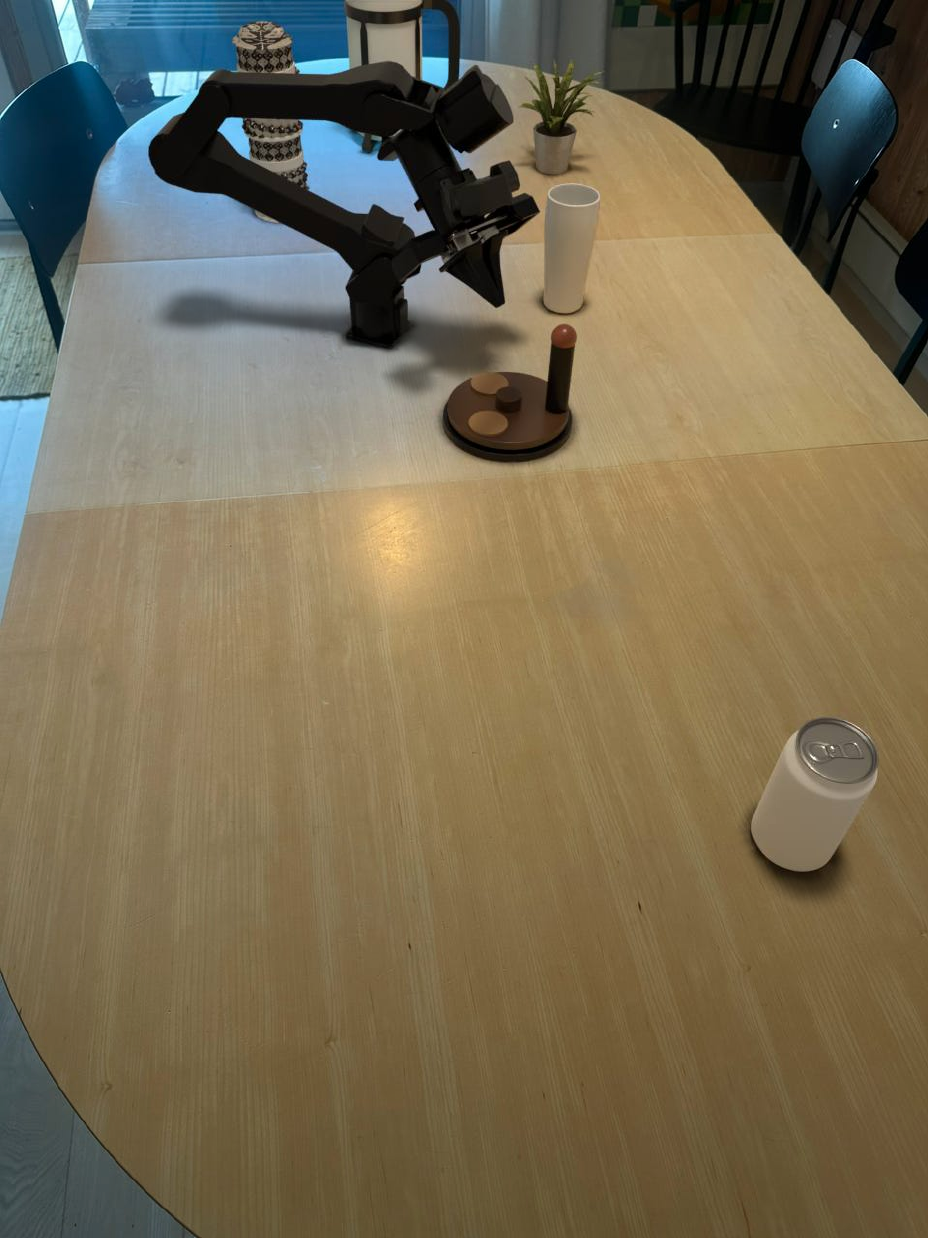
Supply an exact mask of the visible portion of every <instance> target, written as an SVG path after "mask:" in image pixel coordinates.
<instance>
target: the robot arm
mask: <svg viewBox="0 0 928 1238" xmlns="http://www.w3.org/2000/svg"><path fill="white" fill-rule="evenodd" d="M417 105H418V106H417ZM513 113H514V112H513V110H512V107H511V105H510V103H509V100H508V99H507V97H506V94H505V93H504V91H503V90H502V88H501V86H500V84H496V83H495V82H494V80H493V79H492V78H491V77H490V76H489V75H488V74H485V73H483V71H482V70H481V68H480V66H479V65H477V64H474V65H473V66H471V67H470V68H469V69H467V70H466V71H465V72H464V73H463V75H462V77H459V80H458V81H457V82H455V83H454V84H453V85H451V86H450V87H449V88H448V89H446V90H444V87H442V86H440V85H438V84H437V85H436V84H434V83H432V82H428V81H426V80H424V79H422V80H421V79H418V78H415V77H413V76H411V75H410V74H409V73H408V72H407V71H406V69H405V68H404V67H403V66H402V65H401V64H399V63H397V62H392V61H384V62H378V63H373V64H367V65H361V66H358V67H355V68H352V69H350V68H349V69H346V70H342V71H340V72H335V73H329V74H328V73H300V74H295V73H256V72H238V71H231V70H229V69H225V68H221V69H216V70H214V71H213V72H212V73H211V74H210V75H209V76H208V77H207V78H206V79H205V80H204V81H203V83H202V84H201V85H200V86H199V88H198V93H197V94H196V96H195V97H194V99H193V100H192V101H191V103H190V104H189V106H188V107H187V108H186V109H185V111H183V112H182V113H178V114H176V115H173V116H172V117H171V119H169V120H168V121H167V122H166V123H165V125H164V126H163V127H162V128H161V129H159V131H158V133H156V135H155V136H154V137H153V138H152V139H151V140H150V142H149V145H148V147H147V149H148V150H147V152H148V153H147V156H148V161H149V162H150V165H151V167H152V169H153V171H154V174H155V175H156V177H158V178H159V179H160V180H161V181H163V182H165V184H168V185H170V186H174V187H177V188H180V189H183V190H186V191H190V192H192V193H196V194H198V193H199V194H210V195H212V194H213V195H222V196H226V197H227V198H230V199H232V200H234V201H236V202H238V203H239V204H242V205H244V206H246V207H248V208H249V209H252V210H254V211H255V210H256V211H258V212H260V213H262V214H264V215H266V216H268V217H270V218H272V219H274V220H276V221H278V222H280V223H279V224H282V225H283V226H286V227H287V228H290V229H291V230H294V231H296V232H298V233H300V234H301V235H303V236H305V237H307V238H309V239H312V240H314V241H315V242H317V243H320V244H321V245H324V246H325V247H327V248H330V249H331V250H333V251H335V253H337V254H338V255H339V256H340V258H341V259H342V260H343V261H344V262H345V263H346V265H347V266H348V267H349V268H350V270H351V273H350V275H349V277H348V280H347V282H346V285H345V288H344V290H345V291H346V294H347V296H348V299H349V300H348V301H349V316H350V328H349V329H348V330H347V332H346V333H345V338H346V339H347V340H348V339H349V340H352V341H356V342H362V343H366V344H368V345H369V344H370V345H374V346H378V347H382V348H387V349H391V348H393V347H394V346H395V344H397V342H398V341H399V340H400V339H401V337H403V335H404V334H405V333H406V332H407V330H408V329H409V327H410V326H411V321H410V320H409V301H408V299H407V298H405V286H404V284H405V283H406V282H407V281H408V280H409V279H411V278H413V277H415V276H418V275H419V274H420V273H421V269H422V265H423V264H424V263H426V262H429V261H431V260H433V259H435V258H439V257H440V259H441V261H442V263H443V264H442V265H441V266H439V267H438V271H439V273H441V274H442V273H447V274H449V275H451V277H453V278H455V279H456V280H458V281H460V282H461V283H463V284H464V285H466V286H467V287H468V288H469V289H471V290H472V291H474V293H476V294H477V295H478V296H480V297H481V298H482V299H484V300H485V301H486V302H487V303H489V304H490V305H491V306H492V307H494V308H495V309H498V308H500V307H503V306H504V305H505V304H506V297H505V291H504V282H503V276H502V267H501V248H502V245H503V244H502V243H503V241H504V239H505V238H506V237H509V236H511V235H513V234H514V233H515V234H516V232H518V231H519V230H520V229H521V228H524V226H525V225H527V224H528V222H530V221H531V220H533V219H534V218H535V217H536V216H538V215H539V214H540V213H541V210H540V208H539V206H538V203H537V202H536V200H535V198H534V196H533V195H531V194H529V193H526V192H523V193H521V194H518V195H515V196H513V193H516V192H517V191H519V190H520V188H521V182H520V177H519V174H518V172H517V170H516V169H515V167H514V165H513V163H512V162H511V160H510V159H509V160H504V161H501V162H498V163H495V164H493V165H490V167H489V175H487V176H484V177H481V178H477V177H476V175H475V173H474V171H473V170H472V169H470V167H467V168H465V169H462V167H461V166H460V163H459V162H458V159H457V157H456V155H455V153H454V151H457V152H458V153H459V154H463V153H464V152H465V153H466V154H472V153H473V152H475V151H476V150H477V149H480V148H481V147H482V146H483V145H485V144H486V143H488V142H489V141H490V140H492V139H493V138H495V137H496V136H497V135H499V134H500V133H501V132H503V131H504V130H506V129H507V128H508V127H510V126H511V125H513V123H514V120H515V119H514V114H513ZM230 118H231V119H232V118H233V119H242V118H260V119H292V120H299V121H326V122H331V123H335V124H338V125H340V126H342V127H344V128H346V129H347V130H350V131H352V132H353V131H355V132H354V133H358V132H360V133H365V134H369V135H374V136H378V137H382V141H380V146H379V148H378V150H377V151H378V152H377V155H376V159H377V160H378V161H380V162H394V161H396V160H398V161H399V163H400V166H401V167H402V169H403V172H404V173H405V175H406V177H407V179H408V181H409V182H410V185H411V186H412V187H411V188H413V190H414V193H415V195H416V197H417V199H416V200H415V201H414V203H413V206H414V209H415V210H416V213H420V212H422V211H424V212H425V214H426V216H427V218H428V220H429V222H430V225H431V227H432V230H429V231H426V232H424V233H421V234H419V235H416V234H415V231H414V230H413V229H412V227H410V226H409V225H407V224H406V223H405V222H404V220H405V217H404V216H399V215H394V214H392V213H390V212H388V211H387V210H386V209H384V208H383V207H382V206H380V205H378V204H376V203H372V205H371V207H370V209H369V210H368V213H358V212H353V211H350V210H348V209H345V208H344V207H342V206H339V205H338V204H337V203H334V202H332V201H330V200H329V199H326V198H324V197H323V196H320V195H318V194H317V193H314V192H313V191H311V190H310V189H308V190H307V189H305V188H303V187H301V186H299V185H297V184H295V183H293V182H291V181H289V180H287V179H285V178H283V177H282V176H280V175H278V174H276V173H274V172H272V171H270V170H268V169H266V168H264V167H262V166H260V165H258V164H256V163H254V162H252V161H250V158H247V157H245V156H243V155H242V154H240V153H239V152H238V151H237V150H236V148H235V147H234V146H233V145H232V144H231V142H230V141H229V140H228V139H227V138H226V136H225V135H224V134H223V133H222V132H220V131H219V130H220V128H221V126H222V125H223V124H224V122H225V121H226V120H227V119H230ZM399 130H401V131H400V132H398V131H399ZM397 132H398V133H397ZM396 133H397V134H396ZM394 134H396V135H395V136H393V135H394ZM453 150H454V151H453Z"/></svg>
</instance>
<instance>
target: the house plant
mask: <svg viewBox="0 0 928 1238" xmlns="http://www.w3.org/2000/svg"><path fill="white" fill-rule="evenodd" d="M552 59H553V69H554V77H552V79H553V82H554V104H553V103H552V99H551V94H550V89H549V85H548V82H547V78H546V76H545V74H544V73H543V72H542V70H541V69H540V68H539V65H537V64H536V63H535V62H533V61H531V64H532V67H533V69H534V71H535V74H536V78H537V81H538V85H539V87H537V86H536V84H535V83H534V82H533V81H532V80H531V79H530V78H529V77H527V76H525V75H524V76H523V77H524V78H525V79H526V81H527V82H529V84H530V85H531V87H532V89H533V90H534V91H535V92H536V94H537V95H538V98H539V99H532V100H531V103H532V104H531V103H529V102H525V103H522V104H521V105H519V106H518V107H517V108H518V109H519V108H524V109H529V110H533V111H535V112H537V113H538V114H539V115H540V117H541V119H542V121H540V122H537V123H536V124H535V125H533V128H532V129H533V130H532V131H533V143H534V157H535V167H536V170H538V171H539V172H540V173H542V174H546V175H553V176H554V175H561V174H562V175H563V174H564V173H566V172H567V171H568V168H569V164H570V160H571V157H572V151H573V149H574V148H573V147H574V145H575V141H576V136H577V131H578V129H577V128H576V127H577V126H575V125H574V124H572V123H573V121H571V122H568V120H569V119H570V117H571V116H572V115H574V114H576V113H580V116H582V115H583V114H587V115H591V117H594V115H593V113H594V110H588V109H585V108H581V107H584V106H585V105H587V106H588V105H589V104H588V103H586V102H584V100H586V99H587V98H589V97H592V96H593V94H589V92H586V91H585V92H584V91H583V90H584V88H586V87H587V86H588V85H591V84H604V82H601V81H596V80H598V78H595V77H596V76H597V75H600V74H603V73H604V72H605V70H603V71H598V72H595V73H592V74H590V75H589V76H587V77H586V78H584V79H583V80H582V81H581V82H580V83H578V84H576V85H573V86H571V83H572V81H573V79H574V78H573V76H574V75H573V73H574V68H575V63H576V61H574V62H573V58H571V59H570V60H569V63H568V67H567V69H566V70H565V72H564V74H563V76H562V79H561V80H560V74H559V70H558V65H557V63H556V61H555V58H552ZM572 90H573V91H572ZM571 91H572V92H571ZM582 91H583V92H582ZM569 92H571V94H570V95H569V96H568V97H567V98H566V96H567V94H568V93H569ZM580 95H584V96H582V97H581V98H579V96H580ZM576 100H577V101H576ZM576 119H578V117H576V118H575V120H576Z"/></svg>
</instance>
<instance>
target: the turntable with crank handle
mask: <svg viewBox="0 0 928 1238" xmlns="http://www.w3.org/2000/svg"><path fill="white" fill-rule="evenodd" d="M577 341H578V334H577V331H576V329H575V328H574V326H572V325H571V324H568V323H561V324H560V323H559V324H558V325H556V326H555V327H554V328H553V329H552V331H551V333H550V351H549V361H548V370H547V371H548V372H547V373H548V374H547V380H545V379H543V378H540V377H538V376H535V375H532V374H528V373H525V372H523V373H522V372H515V371H493V372H491V371H487V372H480V373H477V374H475V375H474V376H473V377H470V378H468V379H466V380H464V381H462V382H461V383H460V384H458V385H457V386H456V387H455V388H454V389H453V390H452V392H451V393H450V394H449V397H448V399H447V401H448V404H447V414H448V419H449V421H450V423H451V425H452V426H453V428H454V429H455V430H456V431H457V432H458V433H459V434H461V435H462V436H463V437H465V438H466V439H468V440H470V441H472V442H474V443H476V444H479V445H482V446H486V447H490V448H495V449H503V450H520V449H528V448H533V447H537V446H540V445H543V444H545V443H547V442H549V441H551V440H553V439H554V438H556V437H557V436H558V435H560V434H561V433H562V431H563V430H564V429H565V427H566V425H567V423H568V418H569V408H570V405H569V404H570V403H569V401H570V392H571V385H572V384H571V383H572V375H573V369H574V368H573V366H574V360H575V359H574V358H575V351H576V350H575V349H576V343H577Z"/></svg>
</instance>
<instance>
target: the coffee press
mask: <svg viewBox="0 0 928 1238" xmlns="http://www.w3.org/2000/svg"><path fill="white" fill-rule="evenodd" d="M343 7H344V15H345V16H346V31H347V32H346V33H347V48H348V49H347V50H348V51H347V52H348V64H349V65H348V66H349V69H352V68H355V67H358V66H361V65H367V64H373V63H378V62H384V61H392V62H397V63H399V64H401V65H402V66H403V67H404V68H405V69H406V71H407V72H408V73H409V74H410V75H411V76H413V77H415V78H418V79H421V80H423V14H424V10H433V11H439V12H442V13H443V14H444V16H445V17H446V20H447V24H448V25H447V26H448V51H447V52H448V54H447V55H448V57H447V60H448V61H447V62H448V63H447V64H448V65H447V81H446V83H445V85H444V86H443V88H444V90H446V89H448V88H449V87H450V86H451V85H453V84H454V83H455V82H457V81H458V80H459V79H460V69H461V68H460V65H461V27H460V18H459V16H458V12H457V10H456V9H455V7H454V6H453V4H452V3H451V2H450V1H449V0H343ZM417 106H418V105H417ZM400 131H401V130H399V131H398V132H400ZM352 132H353V133H356V132H355V131H352ZM398 132H397V133H398ZM357 133H358V134H359V135H360V136H362V137H363V141H362V144H361V151H362V152H365V153H368V154H371V153H373V151H374V148H375V145H376V144H377V143H378V142H381V141H382V137H378V136H374V135H369V134H365V133H360V132H357ZM397 133H396V134H397ZM396 134H394V135H393V136H395V135H396Z"/></svg>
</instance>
